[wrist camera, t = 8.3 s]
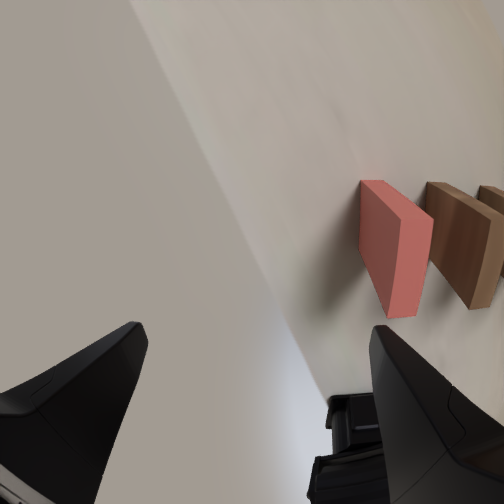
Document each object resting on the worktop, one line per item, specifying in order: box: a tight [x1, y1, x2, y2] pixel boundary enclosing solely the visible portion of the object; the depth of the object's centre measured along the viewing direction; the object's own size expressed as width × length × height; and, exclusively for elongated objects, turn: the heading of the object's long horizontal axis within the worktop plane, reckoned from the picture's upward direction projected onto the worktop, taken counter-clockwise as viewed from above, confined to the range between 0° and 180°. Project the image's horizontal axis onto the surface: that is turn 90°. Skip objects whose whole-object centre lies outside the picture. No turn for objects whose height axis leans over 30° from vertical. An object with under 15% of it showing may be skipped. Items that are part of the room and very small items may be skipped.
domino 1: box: [358, 180, 434, 318], centre depth 15 cm, size 2×5×8 cm, turn 5°
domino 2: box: [425, 182, 504, 310], centre depth 15 cm, size 2×5×8 cm, turn 5°
